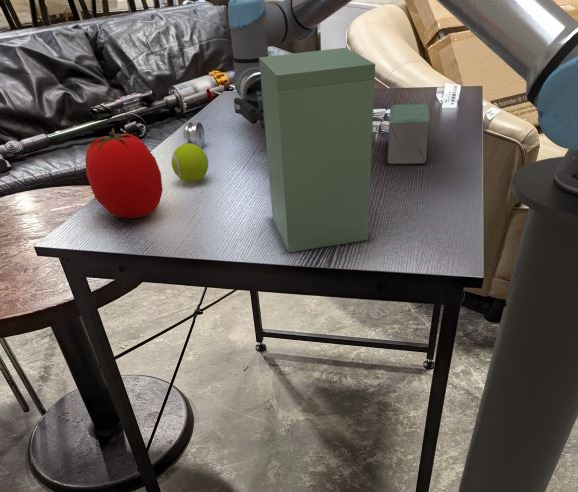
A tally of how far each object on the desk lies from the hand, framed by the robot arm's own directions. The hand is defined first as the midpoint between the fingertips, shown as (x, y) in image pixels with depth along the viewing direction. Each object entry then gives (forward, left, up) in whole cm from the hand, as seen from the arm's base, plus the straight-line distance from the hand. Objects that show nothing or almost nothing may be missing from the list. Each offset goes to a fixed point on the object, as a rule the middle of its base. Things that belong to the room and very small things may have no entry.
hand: (283, 124), depth 92 cm
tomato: (+19, +22, -9) cm, 30 cm away
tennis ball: (+17, +6, -9) cm, 20 cm away
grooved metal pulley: (+27, -12, -9) cm, 31 cm away
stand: (-13, +19, -9) cm, 25 cm away
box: (-18, -18, -9) cm, 27 cm away
